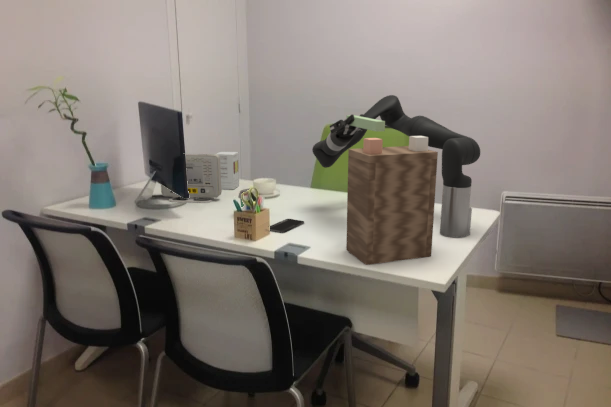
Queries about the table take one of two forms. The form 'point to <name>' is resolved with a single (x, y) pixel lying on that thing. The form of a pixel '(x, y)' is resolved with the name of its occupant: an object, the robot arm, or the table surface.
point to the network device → (200, 178)
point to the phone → (285, 225)
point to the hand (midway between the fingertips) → (358, 117)
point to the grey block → (418, 143)
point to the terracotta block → (372, 145)
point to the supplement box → (229, 170)
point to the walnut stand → (390, 204)
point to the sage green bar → (368, 123)
